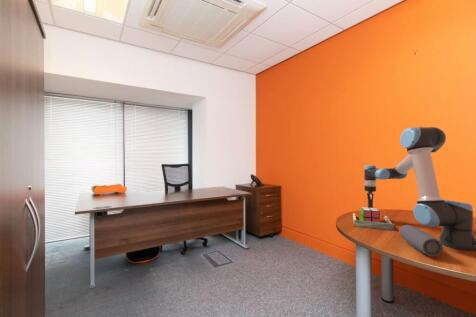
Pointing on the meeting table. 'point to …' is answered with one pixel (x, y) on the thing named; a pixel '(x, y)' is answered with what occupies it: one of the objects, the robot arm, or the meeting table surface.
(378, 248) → the meeting table surface
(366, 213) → the puzzle cube
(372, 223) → the wooden serving tray
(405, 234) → the bluetooth speaker
